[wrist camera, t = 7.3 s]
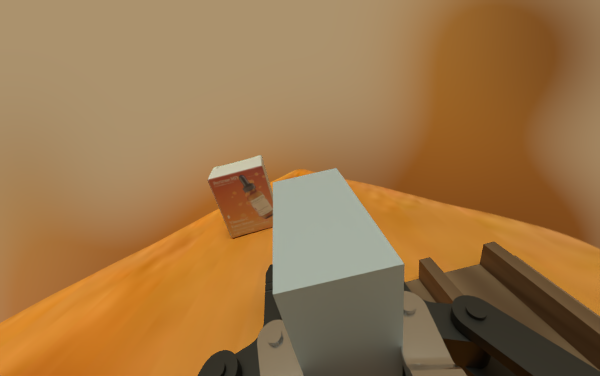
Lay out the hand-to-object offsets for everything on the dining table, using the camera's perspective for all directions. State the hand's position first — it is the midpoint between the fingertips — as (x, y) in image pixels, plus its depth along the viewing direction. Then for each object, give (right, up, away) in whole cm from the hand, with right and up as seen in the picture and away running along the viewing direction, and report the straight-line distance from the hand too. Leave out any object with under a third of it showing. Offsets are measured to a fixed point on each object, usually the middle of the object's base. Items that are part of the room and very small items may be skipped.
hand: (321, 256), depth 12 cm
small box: (-8, -3, +26) cm, 28 cm away
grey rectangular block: (+2, -8, +1) cm, 8 cm away
